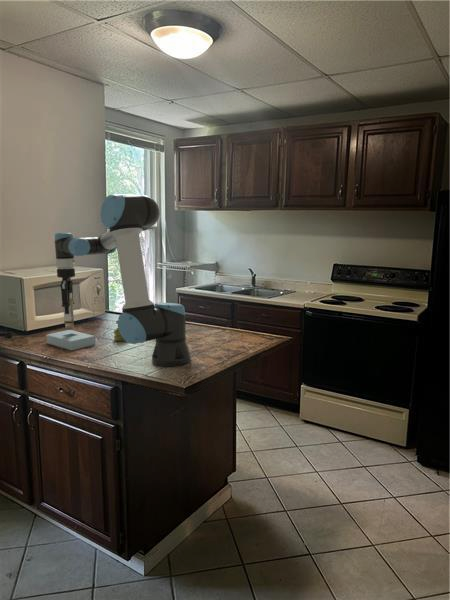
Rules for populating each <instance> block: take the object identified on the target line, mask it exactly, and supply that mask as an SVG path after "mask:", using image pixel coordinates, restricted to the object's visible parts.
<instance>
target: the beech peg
mask: <svg viewBox="0 0 450 600" xmlns="http://www.w3.org/2000/svg"><path fill="white" fill-rule="evenodd" d="M69 299H70V308H71V321H65V318H64V317H63V319H64V325H65V326H64V327H65V328H64V329H65V330H73V329H75V326H74V325H75V324H74V322H75V320H74V318H75V317H74V316H75V315H74V304H73V302H74V301H73V300H74V299H73V300H72V293H69Z"/></svg>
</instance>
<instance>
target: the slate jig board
mask: <svg viewBox="0 0 450 600" xmlns="http://www.w3.org/2000/svg"><path fill="white" fill-rule="evenodd" d="M46 343H47V344H48V345H52V346H55V347H58V348H61V349H62V348H63V349H67V350H69V351H75V350H78V349H82V348H86V347H87V348H88V347H91V346H95V345H96V336H95V335H94V334H93V335H92V334H88V333H84V332H80V331H77V330H73V329H65V330H62V331H57V332H53V333H48V334H46Z"/></svg>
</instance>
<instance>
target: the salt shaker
mask: <svg viewBox="0 0 450 600" xmlns="http://www.w3.org/2000/svg"><path fill="white" fill-rule="evenodd" d="M118 320H119V319H117V320H116V321H115V323H116V324H117V325H118ZM113 340H114V342H120V343H122V342H127V341H126V340H125V339H124V338H123V337H122V336H121V334H120V332H119V329H118V327H116V329H114V330H113Z"/></svg>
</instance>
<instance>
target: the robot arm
mask: <svg viewBox="0 0 450 600" xmlns="http://www.w3.org/2000/svg"><path fill="white" fill-rule="evenodd" d="M159 218H160V207H159V205H158V203H157V202H156V200H154V199H153V198H152V197H150V196H148V195H144V194H142V195H141V194H140V195H139V194H129V193H128V194H127V193H114V194H113V193H111V194H109V195H107V196H106V197H105V198H104V199H103V201H102V203H101V205H100V220H101V223H102V224H103V226H104V227H106V228H109V229H108V230H107V231H105V232H104V233H102V234H101V235H100V236H95V237H94V236H93V237H92V236H91V237H88V236H87V237H73V236H74V235H73V234H72V232H56V233H55V234H54V248H55V249H54V250H55V262H56V263H55V264H56V265H55V266H56V268H57V269H56V276H57V278H61V282H60V291H61V307H62V308H63V319H64V318H65V321H71V308H70V299H69V293H72V300H73V305H75V302H74V290H73V287H74V286H73V285H74V284H73V283H74V282H73V280H72V279H71V278H75V276H76V270H75V268H74V267H75V263H76V260H75V257H83V256H84V257H85V256H90V255H91V256H92V255H93V256H94V255H109V254H114V253H115V252H116V251H117V257H118V263H119V264H118V265H119V270H120V276H121V284H122V289H123V295H124V302H125V303H124V305H123V306H122V307H121V310H122V313H121V314H119V316H118V317H117V320H118V324H117V328H118V329H119V332H120V334H121V336H122V337H123V338H124V339H125V340H126V341H125V342H127V343H128V344H132V345H136V344H144V343H145V342H149V341H154V340H155V345H154V348H153V352H152V354H151V362H152V364H154V365H155V366H159V367H179V366H185V365H186V364H189V363H190V362H191V361H192V360H191V357H192V355H191V352H190V349H189V347H188V345H187V340H186V315H187V314H186V311H185V310H186V309H185V306H184V305H183V304H180V303H175V302H155V303H154V302H153V301H152V300H150V297H149V292H148V291H149V290H148V283H147V276H146V270H145V264H144V257H143V252H142V245H141V238H140V234H141V233H142V231H147V230H149V229H151V228H152V227H154V225H156V223H157V222H158V220H159Z"/></svg>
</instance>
